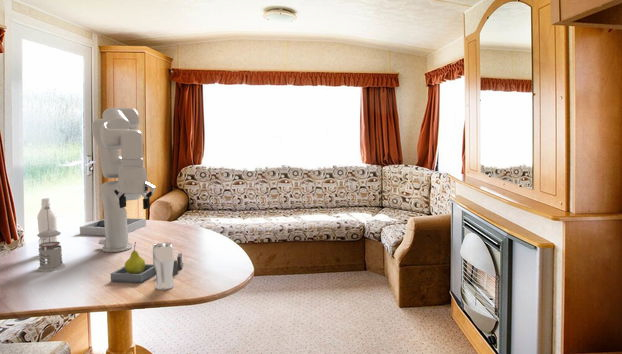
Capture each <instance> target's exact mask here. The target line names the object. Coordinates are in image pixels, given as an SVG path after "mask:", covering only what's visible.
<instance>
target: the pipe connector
mask: <svg viewBox="0 0 622 354" xmlns="http://www.w3.org/2000/svg"><path fill="white" fill-rule="evenodd" d="M98 221H99V220H98ZM97 226H98V227H105V224H104V220H103V219H100V221H99V222H98V223H97Z"/></svg>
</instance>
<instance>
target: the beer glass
mask: <svg viewBox="0 0 622 354" xmlns="http://www.w3.org/2000/svg"><path fill="white" fill-rule="evenodd" d="M174 260H175V250H174V244H173V243H172V242H158V243H155V244H153V245H152V262H153V263H152V264H154V268H155V272H156V274H155V276H156V277H155V278H156V282H155V289H156V290H159V291H166V290H170V289H172V288H174V287H175V283H174V279H173V278H174V276H172V273H173V266H174Z"/></svg>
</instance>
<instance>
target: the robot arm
mask: <svg viewBox="0 0 622 354" xmlns="http://www.w3.org/2000/svg"><path fill="white" fill-rule="evenodd" d="M139 115H140V114H139V112H138V110H136V109H135V108H133V107H109V108H107V109H105V110H103V112H102V118H98V119H95V120H93V122H92V123H91V132H92V136H93V138H94V141H95V143H96V145H97V147H98V150H99V159H100V169H101V174H102V175H103V177H104V178H106V179H117V180H112V181H111V180H110V181H107V182H106V181H105V182H104V183H103V182H102V184H101V185H100V187H99V190H100V191H99V192H100V197H101V201H102V207H103V219H104V224H105V235H104V237H105V239H103V238H102V239H101V238H100V239H99V241H98V245H103V246H102V248H101V249H102V251H103V252H106V253H118V252H124V251H129V250H130V249H132V248H133V244H132V243H129V235H128V234H129V233H128V229H127V218H128V215H127V214H128V213H127V209H126V207H127V201H136V200H139V199H141V198H142V197H143V199H142V209H143V210H148V209H149V208H150V198H151V196H153V195H154V193H155V191H156V186H155V185H153V184H151V183H150V182H149V180H148V179H149V178H148V174H147V173H148V172H147V169H146V166H144V149H143V148H144V147H143V145H144V144H143V143H144V142H143V133H142V131H140V130H138V127H139V124H140V116H139Z"/></svg>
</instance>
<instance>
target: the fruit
mask: <svg viewBox="0 0 622 354" xmlns="http://www.w3.org/2000/svg"><path fill="white" fill-rule="evenodd" d="M135 249H136V241H135V242H134V247H133V251H132V252H131V253H130V257H129V258H128V259H127V260H126V261H125V263H124V266H125V269H126V271H127V272H128V273H129V274H140V273H141V272H142V271H143V270H144V268H145V264H146V262H145V259H144V258H142V257H141V256H140V254H139V253H138V251H137V250H135Z"/></svg>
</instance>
